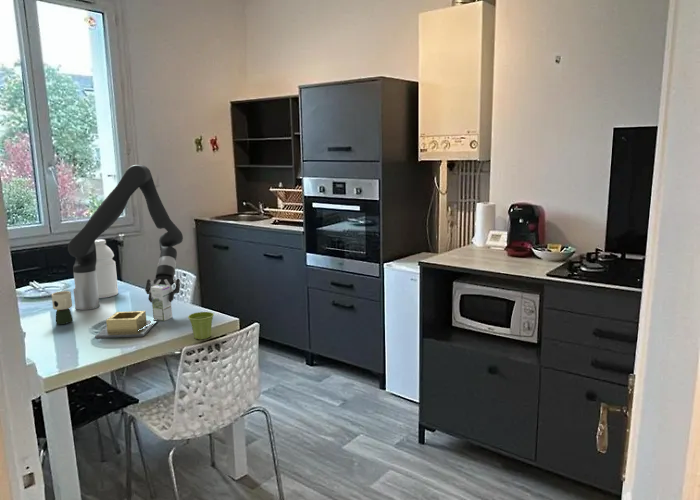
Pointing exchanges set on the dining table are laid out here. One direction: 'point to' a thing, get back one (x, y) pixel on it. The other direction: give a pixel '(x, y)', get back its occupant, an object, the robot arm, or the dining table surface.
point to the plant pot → (201, 324)
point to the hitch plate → (125, 325)
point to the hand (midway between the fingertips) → (160, 301)
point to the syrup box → (161, 302)
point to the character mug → (62, 306)
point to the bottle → (105, 270)
